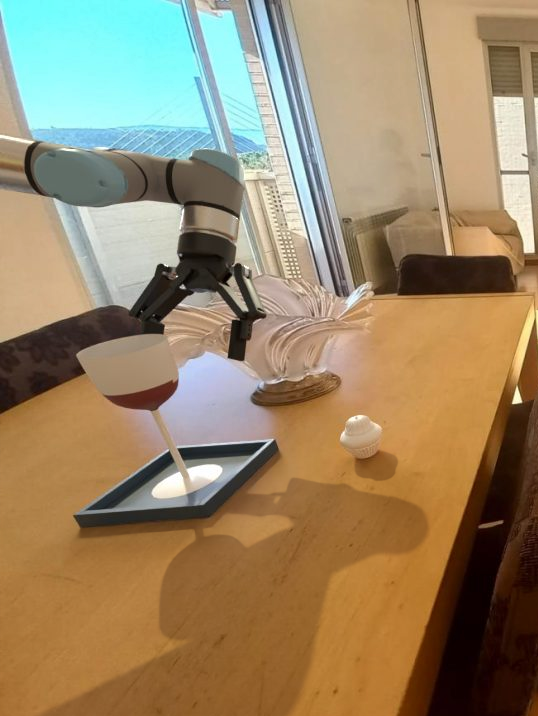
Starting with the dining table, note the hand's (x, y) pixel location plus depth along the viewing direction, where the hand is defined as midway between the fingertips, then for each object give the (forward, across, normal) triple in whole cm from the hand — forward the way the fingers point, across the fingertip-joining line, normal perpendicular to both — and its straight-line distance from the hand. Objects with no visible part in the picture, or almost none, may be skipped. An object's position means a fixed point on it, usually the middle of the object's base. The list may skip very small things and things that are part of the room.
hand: (192, 360), depth 78 cm
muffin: (+16, -28, -2) cm, 32 cm away
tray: (+20, -4, +3) cm, 20 cm away
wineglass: (+19, -4, +3) cm, 20 cm away
